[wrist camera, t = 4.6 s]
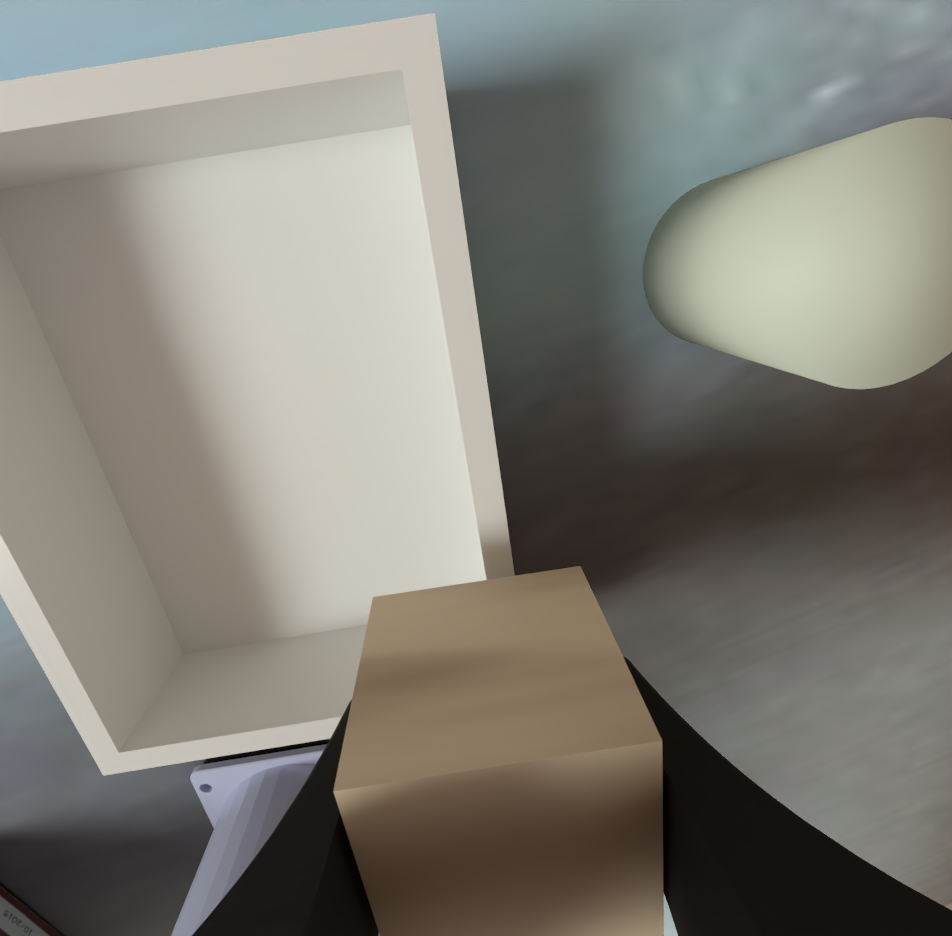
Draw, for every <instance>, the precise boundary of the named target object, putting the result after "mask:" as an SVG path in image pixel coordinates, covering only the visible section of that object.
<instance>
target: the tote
mask: <svg viewBox="0 0 952 936" xmlns="http://www.w3.org/2000/svg"><path fill="white" fill-rule="evenodd" d="M510 576H515V574H514V567H513V560H512V553H511V546H510V539H509V532H508V525H507V518H506V511H505V504H504V497H503V490H502V483H501V476H500V468H499V461H498V454H497V447H496V440H495V433H494V426H493V419H492V412H491V405H490V398H489V391H488V384H487V377H486V370H485V363H484V356H483V349H482V342H481V335H480V328H479V321H478V314H477V307H476V300H475V293H474V286H473V279H472V272H471V265H470V258H469V251H468V244H467V237H466V230H465V223H464V216H463V208H462V201H461V194H460V187H459V180H458V173H457V166H456V159H455V152H454V145H453V138H452V131H451V124H450V117H449V110H448V103H447V96H446V89H445V82H444V75H443V68H442V61H441V54H440V47H439V40H438V33H437V26H436V19H435V13H431V14H424V15H418V16H412V17H405V18H399V19H393V20H386V21H380V22H374V23H367V24H361V25H355V26H348V27H342V28H336V29H329V30H323V31H317V32H310V33H304V34H298V35H291V36H285V37H279V38H272V39H266V40H260V41H253V42H247V43H241V44H234V45H228V46H222V47H215V48H209V49H203V50H196V51H190V52H184V53H177V54H171V55H165V56H158V57H152V58H146V59H139V60H133V61H127V62H120V63H114V64H108V65H101V66H95V67H89V68H82V69H76V70H70V71H63V72H57V73H51V74H44V75H38V76H32V77H25V78H19V79H13V80H6V81H0V594H1V596H2V598H3V600H4V601H5V603H6V605H7V607H8V608H9V610H10V612H11V614H12V616H13V617H14V619H15V621H16V623H17V624H18V626H19V628H20V630H21V631H22V633H23V635H24V637H25V638H26V640H27V642H28V644H29V645H30V647H31V649H32V651H33V652H34V654H35V656H36V658H37V660H38V661H39V663H40V665H41V667H42V668H43V670H44V672H45V674H46V675H47V677H48V679H49V681H50V682H51V684H52V686H53V688H54V689H55V691H56V693H57V695H58V696H59V698H60V700H61V702H62V704H63V705H64V707H65V709H66V711H67V712H68V714H69V716H70V718H71V719H72V721H73V723H74V725H75V726H76V728H77V730H78V732H79V733H80V735H81V737H82V739H83V741H84V742H85V744H86V746H87V748H88V749H89V751H90V753H91V755H92V756H93V758H94V760H95V762H96V763H97V765H98V767H99V769H100V770H101V772H102V774H103V776H104V775H110V774H116V773H122V772H128V771H134V770H140V769H147V768H153V767H159V766H165V765H171V764H177V763H183V762H190V761H196V760H202V759H208V758H214V757H220V756H226V755H232V754H239V753H245V752H251V751H257V750H263V749H269V748H275V747H282V746H288V745H294V744H300V743H306V742H312V741H318V740H324V739H330V738H331V736H332V734H333V733H334V731H335V729H336V727H337V725H338V723H339V721H340V719H341V717H342V716H343V714H344V712H345V710H346V708H347V706H348V704H349V702H350V701H351V700H352V697H353V692H354V687H355V682H356V677H357V673H358V668H359V663H360V658H361V653H362V648H363V643H364V638H365V633H366V629H367V624H368V619H369V614H370V609H371V604H372V599H373V597H376V596H383V595H390V594H396V593H403V592H410V591H416V590H423V589H430V588H436V587H443V586H450V585H456V584H463V583H470V582H476V581H483V580H490V579H497V578H503V577H510Z"/></svg>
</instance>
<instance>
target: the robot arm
mask: <svg viewBox="0 0 952 936" xmlns="http://www.w3.org/2000/svg"><path fill="white" fill-rule="evenodd" d="M623 658H624V660H625V662H626V664H627V666H628V668H629V671H630V673H631V675H632V677H633V679H634V681H635V683H636V686H637V688H638V690H639V692H640V694H641V696H642V698H643V700H644V703H645V705H646V707H647V709H648V711H649V713H650V715H651V718H652V720H653V722H654V724H655V726H656V728H657V730H658V732H659V735H660V737H661V739H662V753H663V892H664V894H665V897H666V900H667V902H668V905H669V908H670V911H671V914H672V917H673V921H674V924H675V927H676V930H677V933H678V936H952V911H951V910H950V909H948V908H946V907H944V906H943V905H941V904H939V903H937V902H935V901H933V900H932V899H930V898H928V897H926V896H924V895H922V894H921V893H919V892H917V891H915V890H913V889H912V888H910V887H908V886H906V885H904V884H903V883H901V882H899V881H897V880H896V879H894V878H892V877H891V876H889V875H887V874H886V873H884V872H883V871H881V870H879V869H878V868H876V867H874V866H873V865H871V864H869V863H868V862H866V861H865V860H863V859H861V858H860V857H858V856H856V855H855V854H853V853H852V852H850V851H849V850H847V849H846V848H845V847H843V846H842V845H840V844H839V843H837V842H836V841H834V840H833V839H831V838H830V837H828V836H827V835H825V834H824V833H822V832H821V831H819V830H818V829H816V828H815V827H813V826H812V825H810V824H809V823H807V822H806V821H804V820H803V819H802V818H800V817H799V816H797V815H796V814H795V813H793V812H792V811H791V810H789V809H788V808H787V807H785V806H784V805H783V804H781V803H780V802H779V801H777V800H776V799H775V798H773V797H772V796H771V795H769V794H768V793H767V792H766V791H764V790H763V789H762V788H760V787H759V786H758V785H757V784H755V783H754V782H753V781H752V780H750V779H749V778H748V777H747V776H746V775H744V774H743V773H742V772H741V771H739V770H738V769H737V768H736V767H735V766H734V765H732V764H731V763H730V762H729V761H728V760H727V759H726V758H724V757H723V756H722V755H721V754H720V753H719V752H718V751H717V750H715V749H714V748H713V747H712V746H711V745H710V744H709V743H708V742H707V741H706V740H704V739H703V738H702V737H701V736H700V735H699V734H698V733H697V732H696V731H695V730H694V729H693V728H692V727H691V726H690V725H689V724H688V723H687V722H686V721H685V720H684V719H683V718H682V717H681V716H680V715H679V714H678V713H677V712H676V711H675V710H674V709H673V708H672V707H671V706H670V705H669V704H668V703H667V702H666V701H665V700H664V699H663V698H662V697H661V696H660V695H659V694H658V693H657V691H656V690H655V689H654V688H653V687H652V686H651V685H650V684H649V683H648V682H647V680H646V679H645V678H644V677H643V676H642V675H641V674H640V672H639V671H638V670H637V669H636V668H635V667H634V665H633V664H632V663H631V662H630V661H629V660H628V659H627V658H625V657H623ZM351 702H352V700H351V701H350V702H349V704H348V706H347V708H346V710H345V712H344V714H343V716H342V717H341V719H340V721H339V723H338V725H337V727H336V729H335V731H334V733H333V734H332V736H331V738H330V740H329V742H328V744H324V745H318V746H312V747H306V748H300V749H294V750H287V751H281V752H275V753H269V754H263V755H257V756H251V757H245V758H238V759H232V760H226V761H220V762H214V763H208V764H202V765H199V766H197V767H195V768H194V770H193V772H192V774H191V777H190V779H191V782H192V784H193V786H194V788H195V791H196V793H197V795H198V797H199V799H200V801H201V803H202V805H203V807H204V809H205V811H206V813H207V815H208V817H209V819H210V821H211V823H212V826H213V828H214V830H213V833H212V835H211V838H210V840H209V843H208V845H207V848H206V850H205V853H204V855H203V858H202V860H201V863H200V865H199V868H198V870H197V872H196V875H195V877H194V880H193V882H192V885H191V887H190V890H189V892H188V895H187V897H186V900H185V902H184V905H183V907H182V910H181V912H180V915H179V917H178V920H177V922H176V925H175V927H174V930H173V932H172V935H171V936H380V934H379V931H378V928H377V925H376V922H375V918H374V915H373V912H372V909H371V906H370V903H369V900H368V897H367V894H366V891H365V888H364V885H363V881H362V878H361V875H360V872H359V869H358V866H357V863H356V860H355V857H354V854H353V851H352V848H351V845H350V841H349V838H348V835H347V832H346V829H345V826H344V823H343V820H342V817H341V814H340V811H339V808H338V805H337V801H336V798H335V795H334V792H333V790H334V785H335V780H336V775H337V770H338V766H339V761H340V756H341V751H342V746H343V741H344V736H345V731H346V726H347V722H348V717H349V712H350V707H351Z"/></svg>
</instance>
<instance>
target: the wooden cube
mask: <svg viewBox="0 0 952 936" xmlns="http://www.w3.org/2000/svg"><path fill="white" fill-rule="evenodd" d="M333 792H334V795H335V798H336V801H337V805H338V808H339V811H340V814H341V817H342V820H343V823H344V826H345V829H346V832H347V835H348V838H349V841H350V845H351V848H352V851H353V854H354V857H355V860H356V863H357V866H358V869H359V872H360V875H361V878H362V881H363V885H364V888H365V891H366V894H367V897H368V900H369V903H370V906H371V909H372V912H373V915H374V918H375V922H376V925H377V928H378V931H379V934H380V936H664V909H663V753H662V739H661V737H660V735H659V732H658V730H657V728H656V726H655V724H654V722H653V720H652V718H651V715H650V713H649V711H648V709H647V707H646V705H645V703H644V700H643V698H642V696H641V694H640V692H639V690H638V688H637V686H636V683H635V681H634V679H633V677H632V675H631V673H630V671H629V668H628V666H627V664H626V662H625V660H624V658H623V656H622V654H621V651H620V649H619V647H618V645H617V643H616V641H615V639H614V637H613V634H612V632H611V630H610V628H609V626H608V624H607V622H606V619H605V617H604V615H603V613H602V611H601V609H600V607H599V605H598V602H597V600H596V598H595V596H594V594H593V592H592V590H591V587H590V585H589V583H588V581H587V579H586V577H585V575H584V573H583V570H582V568H581V566H577V567H570V568H563V569H557V570H550V571H543V572H537V573H530V574H523V575H517V576H510V577H503V578H497V579H490V580H483V581H476V582H470V583H463V584H456V585H450V586H443V587H436V588H430V589H423V590H416V591H410V592H403V593H396V594H390V595H383V596H376V597H373V599H372V604H371V609H370V614H369V619H368V624H367V629H366V633H365V638H364V643H363V648H362V653H361V658H360V663H359V668H358V673H357V677H356V682H355V687H354V692H353V697H352V702H351V707H350V712H349V717H348V722H347V726H346V731H345V736H344V741H343V746H342V751H341V756H340V761H339V766H338V770H337V775H336V780H335V785H334V790H333Z"/></svg>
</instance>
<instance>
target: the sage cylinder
mask: <svg viewBox="0 0 952 936" xmlns="http://www.w3.org/2000/svg"><path fill="white" fill-rule="evenodd" d="M643 281H644V289H645V294H646V298H647V301H648V303H649V306H650V308H651V310H652V312H653V314H654V316H655V317H656V318H657V320H658V321H659V322H660V323H661V324H662V325H663V326H664V327H665V328H666V329H667V330H668V331H669V332H671V333H672V334H673V335H675V336H677V337H679V338H681V339H683V340H686V341H689V342H692V343H695V344H699V345H702V346H705V347H708V348H712V349H715V350H718V351H721V352H725V353H728V354H731V355H734V356H738V357H741V358H744V359H747V360H751V361H754V362H757V363H760V364H764V365H767V366H770V367H773V368H777V369H780V370H783V371H786V372H790V373H793V374H796V375H799V376H803V377H806V378H809V379H812V380H816V381H819V382H822V383H825V384H829V385H832V386H836V387H841V388H847V389H869V388H878V387H883V386H887V385H892V384H895V383H897V382H900V381H903V380H906V379H908V378H911V377H913V376H915V375H917V374H919V373H921V372H923V371H925V370H926V369H928V368H930V367H931V366H933V365H934V364H936V363H938V362H939V361H940V360H942V359H943V358H944V357H946V356H947V355H948V354H950V353H951V352H952V120H951V119H947V118H934V117H925V118H913V119H908V120H904V121H900V122H896V123H892V124H889V125H886V126H882V127H879V128H876V129H873V130H870V131H867V132H863V133H860V134H857V135H854V136H851V137H848V138H844V139H841V140H838V141H835V142H832V143H828V144H825V145H822V146H819V147H816V148H813V149H809V150H806V151H803V152H800V153H797V154H794V155H790V156H787V157H784V158H781V159H778V160H774V161H771V162H768V163H765V164H762V165H759V166H755V167H752V168H749V169H746V170H743V171H739V172H736V173H733V174H730V175H727V176H724V177H720V178H717V179H714V180H711V181H708V182H706V183H703V184H700V185H699V186H697V187H695V188H693V189H691V190H690V191H688V192H687V193H685V194H684V195H683V196H681V197H680V198H679V199H678V200H677V201H676V202H675V203H674V204H672V206H671V207H670V208H669V209H668V210H667V211H666V213H665V214H664V215H663V217H662V218H661V220H660V221H659V222H658V224H657V226H656V228H655V230H654V232H653V234H652V236H651V239H650V241H649V244H648V247H647V251H646V254H645V260H644V267H643Z"/></svg>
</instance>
